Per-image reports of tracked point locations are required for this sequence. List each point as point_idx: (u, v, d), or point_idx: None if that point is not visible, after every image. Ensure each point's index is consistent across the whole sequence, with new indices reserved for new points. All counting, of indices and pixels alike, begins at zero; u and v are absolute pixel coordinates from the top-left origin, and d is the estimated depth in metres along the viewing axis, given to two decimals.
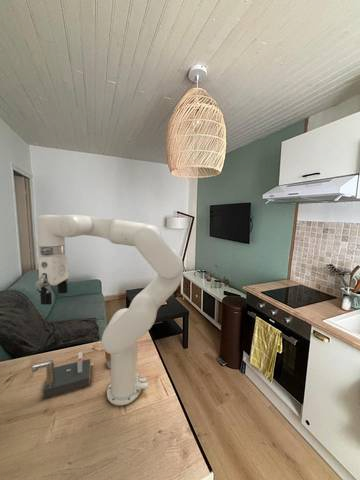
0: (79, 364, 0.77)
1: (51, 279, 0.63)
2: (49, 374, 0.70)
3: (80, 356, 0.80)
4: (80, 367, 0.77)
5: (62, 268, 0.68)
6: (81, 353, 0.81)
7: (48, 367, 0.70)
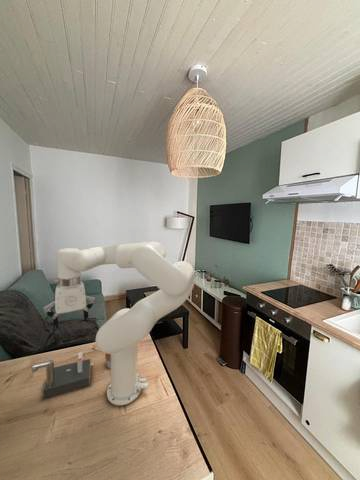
0: (79, 364, 0.77)
1: (55, 307, 0.70)
2: (49, 374, 0.70)
3: (80, 356, 0.80)
4: (80, 367, 0.77)
5: (72, 299, 0.72)
6: (81, 353, 0.81)
7: (48, 367, 0.70)
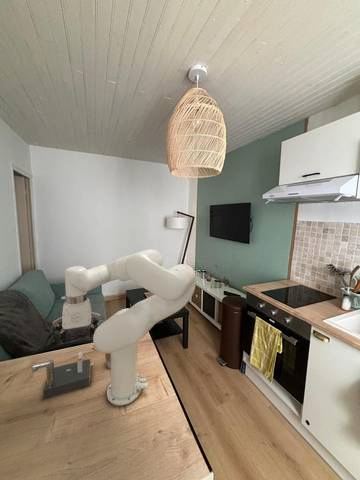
0: (79, 364, 0.77)
1: (62, 323, 0.74)
2: (49, 374, 0.70)
3: (80, 356, 0.80)
4: (80, 367, 0.77)
5: (78, 316, 0.75)
6: (81, 353, 0.81)
7: (48, 367, 0.70)
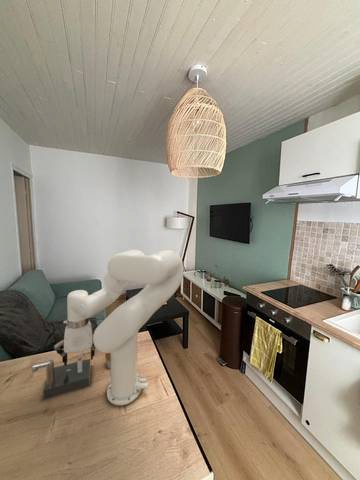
0: (79, 364, 0.77)
1: (64, 347, 0.75)
2: (49, 374, 0.70)
3: (80, 356, 0.80)
4: (80, 367, 0.77)
5: (79, 339, 0.77)
6: (81, 353, 0.81)
7: (48, 367, 0.70)
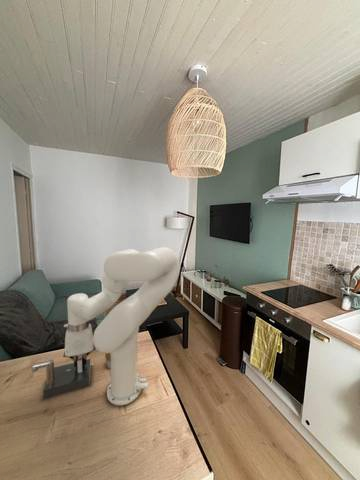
0: (79, 364, 0.77)
1: (64, 351, 0.75)
2: (49, 374, 0.70)
3: (80, 356, 0.80)
4: (80, 367, 0.77)
5: (80, 343, 0.77)
6: None
7: (48, 367, 0.70)
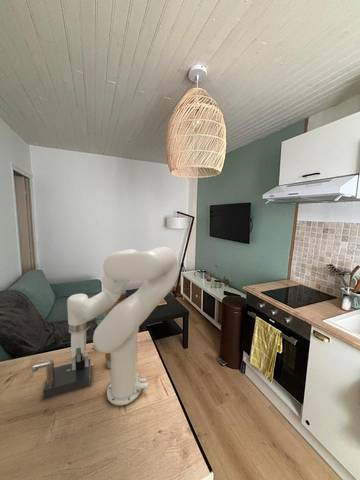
0: (72, 361, 0.79)
1: None
2: (49, 374, 0.70)
3: None
4: (72, 364, 0.79)
5: None
6: (84, 355, 0.80)
7: (48, 367, 0.70)
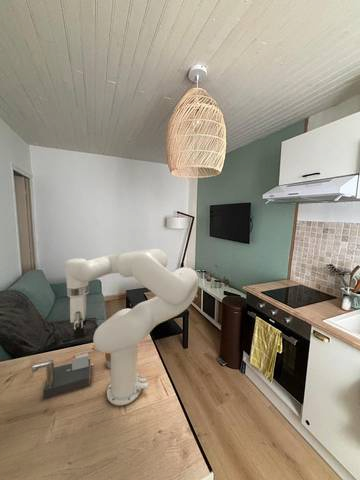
0: (72, 361, 0.79)
1: None
2: (49, 374, 0.70)
3: (79, 356, 0.80)
4: (72, 364, 0.79)
5: None
6: (84, 355, 0.80)
7: (48, 367, 0.70)
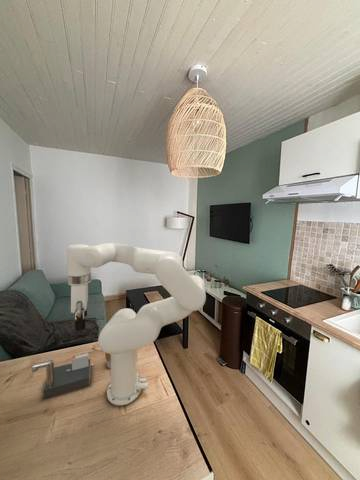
0: (72, 361, 0.79)
1: None
2: (49, 374, 0.70)
3: (79, 356, 0.80)
4: (72, 364, 0.79)
5: None
6: (84, 355, 0.80)
7: (48, 367, 0.70)
